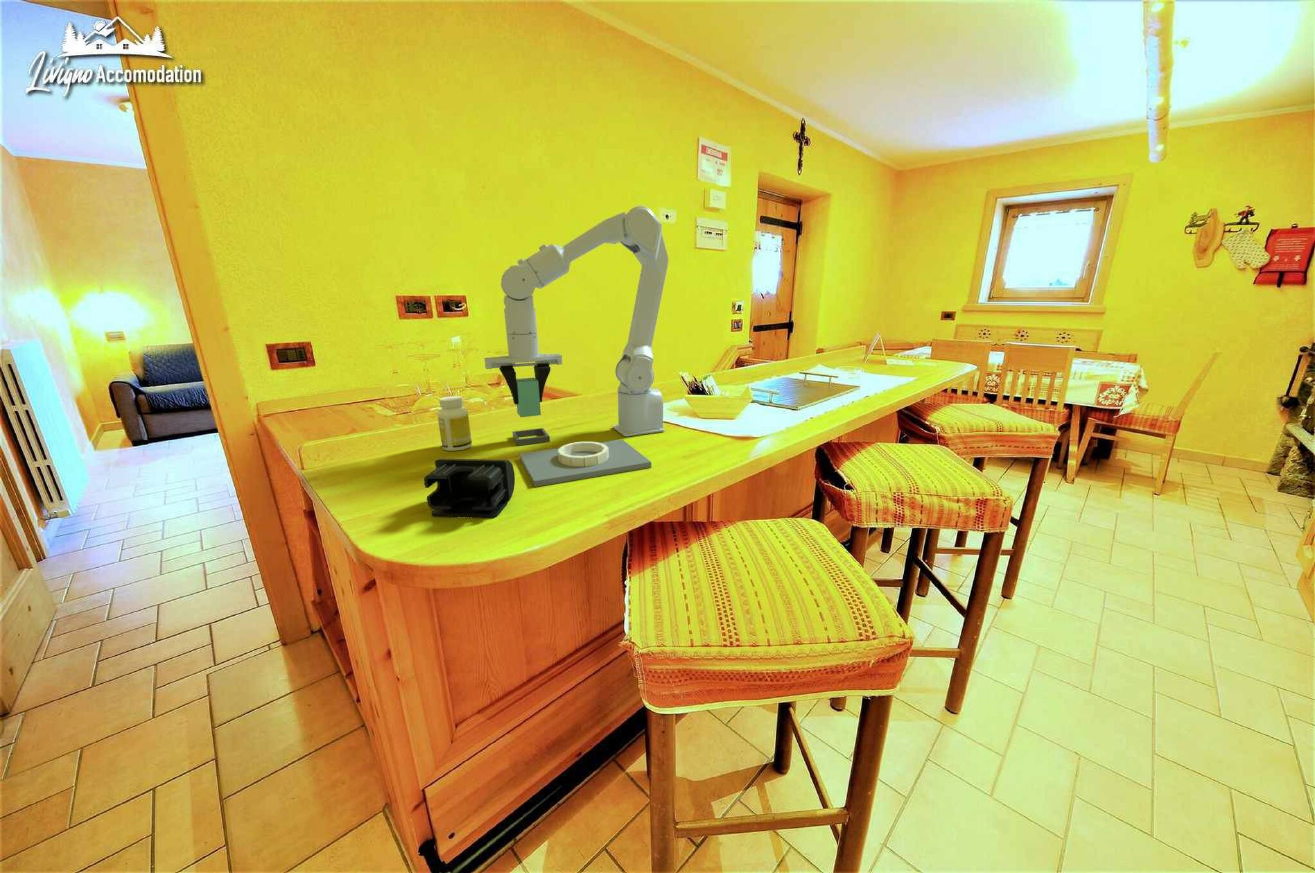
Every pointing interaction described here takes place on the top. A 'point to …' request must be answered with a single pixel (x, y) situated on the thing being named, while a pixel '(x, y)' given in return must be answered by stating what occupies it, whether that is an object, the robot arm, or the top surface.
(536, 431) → the dark grey square frame
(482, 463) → the end cap
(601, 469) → the socket board
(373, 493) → the top surface
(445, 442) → the supplement bottle
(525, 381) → the plug
